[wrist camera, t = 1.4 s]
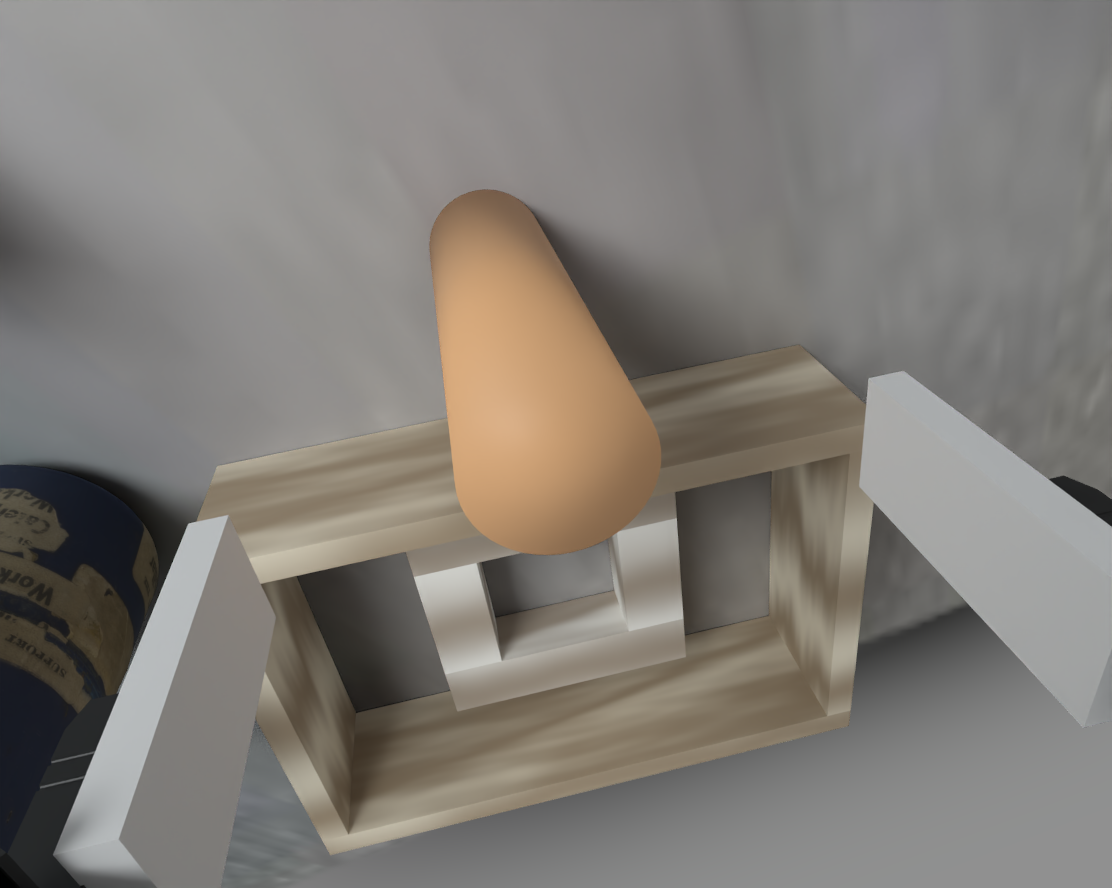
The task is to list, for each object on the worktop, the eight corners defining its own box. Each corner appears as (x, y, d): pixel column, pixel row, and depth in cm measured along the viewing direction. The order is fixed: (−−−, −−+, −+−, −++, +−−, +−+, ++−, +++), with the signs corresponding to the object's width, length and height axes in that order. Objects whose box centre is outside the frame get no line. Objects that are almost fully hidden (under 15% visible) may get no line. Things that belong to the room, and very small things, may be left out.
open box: (217, 466, 32) (176, 574, 26) (799, 344, 34) (882, 420, 28) (340, 732, 42) (330, 855, 36) (788, 625, 44) (848, 725, 38)
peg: (417, 201, 28) (433, 403, 14) (533, 179, 28) (653, 358, 15) (443, 311, 30) (477, 573, 17) (550, 290, 31) (667, 530, 17)
